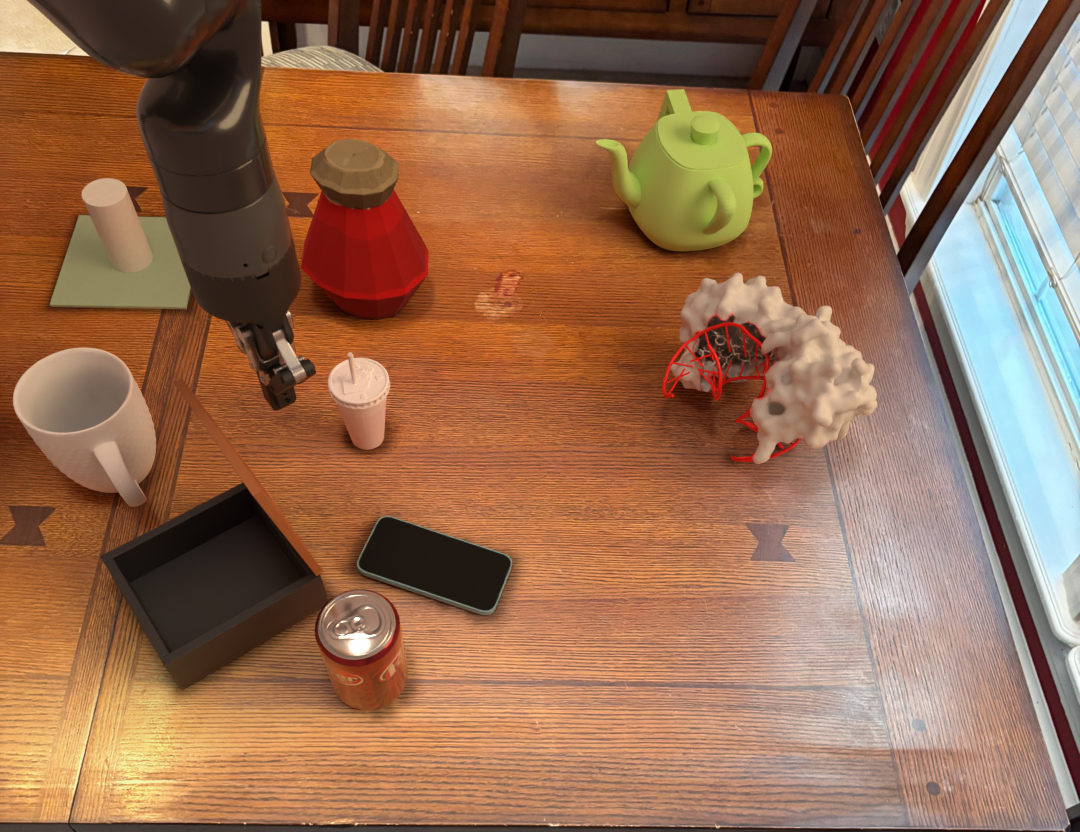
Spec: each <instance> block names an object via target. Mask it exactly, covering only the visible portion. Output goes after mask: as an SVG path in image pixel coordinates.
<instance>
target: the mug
mask: <svg viewBox="0 0 1080 832" xmlns="http://www.w3.org/2000/svg"><path fill="white" fill-rule="evenodd" d="M12 406H13V410H14V412H15V415H16V416H17V418H18V420H19V421H20V423H21V424H22V426H23V427H24V429H25V430H26V432H27V434H28V435H29V436H30V437H31V438H32V440H33V442H34V443H35V445H36V446H37V447H38V448H39V449H40V451H41V453H43V454H44V455H45V457H46V459H47V460H49V461H50V463H51V464H52V465H53V466H54V467H55V468H57V469H58V470H59V471H60V472H61V473H62V474H64V475H65V476H66V477H67V478H68V479H70V480H72V481H73V482H74V483H77V484H79V485H80V486H82V487H84V488H87V489H89V490H92V491H96V492H99V493H106V494H117V493H118V494H119V495H120V497H121V498H122V499H123V501H124V502H125V504H127V505H128V506H129V507H131V508H136V507H140V506H141V505H143V504H144V503H146V502H147V499H148V498H147V496H146V495H145V493H144V491H143V490H142V488H141V487H140V485H139V484H141V483H142V482H143V481H144V480H145V479H146V478H147V476H148V475H149V473H150V472H151V470H152V469H153V465H154V462H155V459H156V453H157V450H156V449H157V436H156V430H155V424H154V421H153V418H152V417H153V416H152V414H151V413H150V408H149V407H148V404H147V401H146V399H145V398H144V395H143V393H142V390H141V389H140V387H139V385H138V383H137V382H136V379H135V378H134V376H133V373H132V371H131V370H130V368H129V367H128V365H127V364H126V363H125V362H124V361H123V359H121V358H120V357H118V356H117V355H115V354H113V353H111V352H109V351H107V350H104V349H100V348H96V347H95V348H94V347H73V348H68V349H67V348H66V349H63V350H59V351H56V352H53V353H50V354H49V355H47V356H45V357H43V358H41V359H40V360H38V361H36V362H35V363H33V364H32V365H31V366H29V367H28V369H26V371H24V373H22V375H21V376H20V378H19V379H18V380H17V383H16V384H15V387H14V389H13V394H12Z"/></svg>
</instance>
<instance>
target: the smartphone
mask: <svg viewBox="0 0 1080 832" xmlns="http://www.w3.org/2000/svg"><path fill="white" fill-rule="evenodd" d="M356 562H357V563H356V567H357V570H358V572H359V573H360V575H362V576H364V577H367V578H370V579H373V580H376V581H379V582H382V583H385V584H388V585H391V586H394V587H397V588H400V589H404V590H407V591H409V592H412V593H415V594H418V595H421V596H424V597H427V598H430V599H432V600H436V601H439V602H442V603H444V604H448V605H450V606H454V607H457V608H459V609H462V610H465V611H469V612H472V613H474V614H477V615H480V616H490V615H493V613H494V612H495V611H496V610H497V606H498V604H499V601H500V599H501V596H502V594H503V591H504V589H505V586H506V583H507V580H508V578H509V576H510V574H511V571H512V567H513V560H512V558H511V557H510V556H509V555H508V554H506V553H504V552H501V551H498V550H495V549H493V548H489V547H486V546H484V545H483V546H482V545H480V544H477V543H474V542H470V541H468V540H465V539H461V538H458V537H456V536H452V535H450V534H447V533H444V532H440V531H437V530H434V529H431V528H428V527H426V526H422V525H419V524H416V523H413V522H410V521H408V520H404V519H401V518H398V517H394V516H391V515H382V516H381V517H379V518H378V519H377V521H376V523H375V524H374V526H373V528H372V530H371V533H370V534H369V537H368V538H367V541H366V542H365V544H364V546H363V549H362V550H361V553H360V555H359V557H358V558H357V561H356Z"/></svg>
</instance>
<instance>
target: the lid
mask: <svg viewBox="0 0 1080 832" xmlns="http://www.w3.org/2000/svg"><path fill="white" fill-rule="evenodd" d="M173 385H174V386H175V387H176V389H177V390H178V392H179V393H180V395H181V397H183V399H184V400H185V402H186V403H187V405H188V406H189V407H190V409H191V410H192V412H193V413H194V415H195V416H196V417H197V419H198V421H200V423H201V425H202V426H203V428H204V429H205V430H206V432H207V433H208V434H209V436H210V437H211V439H212V440H213V441H214V443H215V444H216V446H217V447H218V449H219V450H220V452H221V453H222V454H223V456H224V458H225V459H226V460H227V462H228V463H229V464H230V466H231V467H232V468H233V470H234V472H235V473H236V474H237V476H238V477H239V479H240V480H241V481H242V483H244V484H245V486H246V487H247V488H248V490H249V491H250V493H251V494H252V496H253V497H254V498H255V499H256V501H257V502H258V503H259V504H260V506H261V507H262V508H263V509H264V511H265V512H266V513H267V515H268V516H269V517H270V518H271V520H272V521H273V522H274V523H275V525H276V526H277V527H278V528H279V530H280V531H281V532H282V533H283V535H284V536H285V537H286V538H287V540H288V541H289V542H290V543H291V545H292V546H293V547H294V549H295V550H296V551H297V552H298V554H299V555H300V556H301V557H302V559H303V560H304V561H305V562H306V564H307V565H308V566H309V567H310V569H311V570H312V571H313V572H314V574H315V575H316V576H318V575H319V574H320V575H321V574H322V573H323V572H324V570H323V569H322V567H321V565H320V564H319V563H318V562H317V560H316V559H315V557H314V556H313V554H312V553H311V552H310V550H309V549H308V547H307V546H306V545H305V543H304V542H303V540H302V539H301V537H300V536H299V535H298V533H297V532H296V530H295V529H294V528H293V526H292V525H291V524H290V522H289V521H288V520H287V518H286V516H285V515H284V514H283V512H282V511H281V510H280V508H279V506H278V505H277V503H276V502H275V501H274V500H273V498H272V497H271V495H270V494H269V492H268V491H267V490H266V488H265V487H264V485H263V484H262V483H261V482H260V479H258V477H257V476H256V474H255V473H254V471H253V470H252V469H251V468H250V466H249V465H248V464H247V462H246V461H245V460H244V459H243V457H242V456H241V454H240V453H239V452H238V451H237V449H236V448H235V446H234V445H233V444H232V442H231V441H230V440H229V439H228V437H227V435H226V434H225V433H224V432H223V430H222V429H221V428H220V426H219V425H218V424H217V423H216V421H215V420H214V418H213V417H212V416H211V414H210V413H209V412H208V411H207V409H206V408H205V407H204V405H203V404H202V402H201V401H200V400H199V398H197V396H196V395H195V394H194V392H193V391H192V390H191V388H190V387H189V385H188V384H187V382H186V381H185V380H184V379H183V378H182V377H180V378H178V379H177V380H175V381H174V382H173Z"/></svg>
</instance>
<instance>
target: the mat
mask: <svg viewBox="0 0 1080 832" xmlns="http://www.w3.org/2000/svg"><path fill="white" fill-rule="evenodd" d="M137 216H138V218H139V221H140V223H141V226H142V229H143V231H144V234H145V236H146V239H147V241H148V244H149V246H150V249H151V251H152V254H153V260H152V262H151V264H150V265H149V266H148V267H147V268H145V269H143V270H141V271H139V272H135V273H123V272H120V271H118V270H116V269H115V268H114V267H113V266H112V264H111V261H110V259H109V257H108V255H107V253H106V250H105V248H104V246H103V244H102V241H101V239H100V237H99V235H98V232H97V230H96V228H95V226H94V223H93V221H92V219H91V217H90V214H79V215H78V216H77V220H76V223H75V227H74V229H73V232H72V235H71V238H70V241H69V243H68V247H67V250H66V253H65V256H64V259H63V263H62V265H61V268H60V272H59V274H58V277H57V280H56V283H55V287H54V289H53V293H52V296H51V298H50V301H49V304H48V305H49V307H50V308H81V309H85V308H87V309H132V310H133V309H136V310H139V309H141V310H181V311H183V310H184V311H185V310H187V309H188V304H189V300H190V296H191V292H192V290H191V287H190V284H189V281H188V279H187V276H186V273H185V270H184V268H183V265H182V262H181V259H180V257H179V254H178V251H177V248H176V245H175V243H174V240H173V237H172V234H171V232H170V229H169V226H168V223H167V220H166V216H139V215H137Z"/></svg>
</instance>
